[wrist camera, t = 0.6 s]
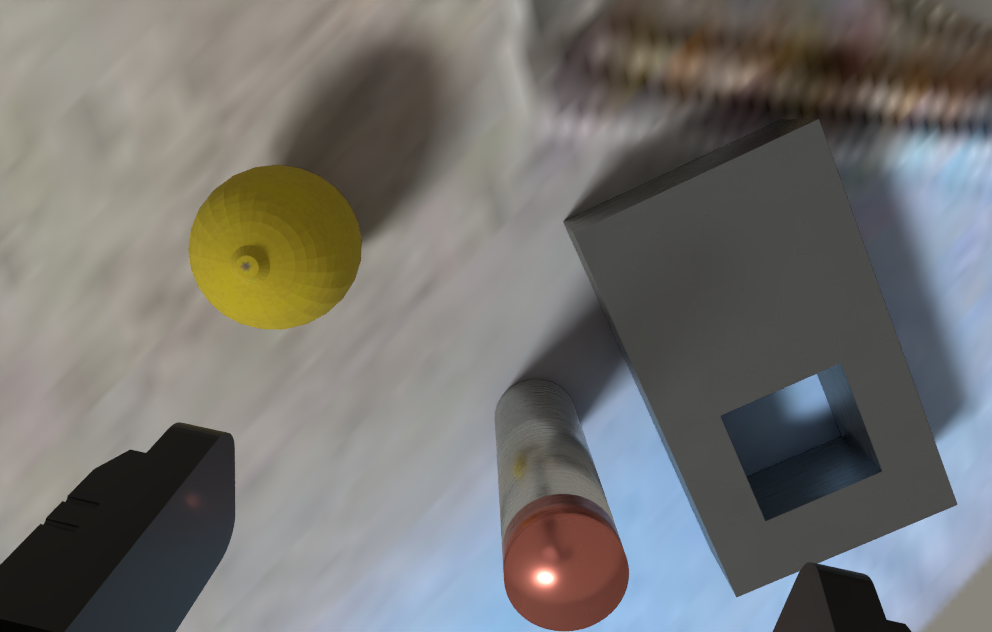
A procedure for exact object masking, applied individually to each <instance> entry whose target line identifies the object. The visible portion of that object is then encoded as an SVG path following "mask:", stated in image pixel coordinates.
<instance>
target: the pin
mask: <svg viewBox="0 0 992 632" xmlns="http://www.w3.org/2000/svg"><path fill="white" fill-rule="evenodd" d="M495 433H496V450H497V467H498V484H499V502H500V519H501V536H502V553H503V570H504V583H505V589H506V593H507V595H508V598H509V600H510V602H511V603H512V605H513V607H514V608H515V609H516V610H517V611H518V613H519V614H521V615H522V616H523V617H524V618H525V619H527V620H528V621H530V622H531V623H533V624H535V625H537V626H539V627H542V628H545V629H549V630H554V631H574V630H579V629H584V628H587V627H589V626H592V625H594V624H596V623H598V622H600V621H601V620H603V619H604V618H606V617H607V616H608V615H609V614H611V613H612V612H613V610H614V609H615V608H616V607H617V606H618V604H619V603H620V602H621V600H622V598H623V596H624V594H625V591H626V589H627V585H628V579H629V568H628V562H627V558H626V555H625V552H624V549H623V546H622V543H621V541H620V538H619V535H618V532H617V529H616V526H615V523H614V520H613V517H612V514H611V511H610V509H609V506H608V503H607V500H606V497H605V494H604V491H603V488H602V485H601V482H600V479H599V477H598V474H597V471H596V468H595V465H594V462H593V459H592V456H591V453H590V450H589V447H588V445H587V442H586V439H585V436H584V433H583V430H582V427H581V424H580V421H579V418H578V415H577V413H576V410H575V407H574V404H573V402H572V400H571V398H570V396H569V395H568V394H567V392H566V391H565V390H564V389H562V388H561V387H560V386H558V385H557V384H555V383H553V382H550V381H547V380H541V379H531V380H525V381H522V382H519V383H517V384H515V385H513V386H512V387H511V388H509V389H508V390H507V391H506V392H505V393H504V394H503V396H502V397H501V398H500V400H499V402H498V404H497V407H496V411H495Z"/></svg>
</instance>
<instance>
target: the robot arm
mask: <svg viewBox="0 0 992 632" xmlns="http://www.w3.org/2000/svg"><path fill="white" fill-rule="evenodd" d="M234 522H235V446H234V439H233V437H232V435H231V434H230V433H226V432H222V431H217V430H213V429H208V428H204V427H199V426H194V425H190V424H185V423H179V422H178V423H175V424H174V425H172V426H171V427H170V428H169V429H168V430H167V431H166V432H165V433H164V434H163V435H162V436H161V438H160V439H159V440H158V441H157V442H156V443H155V444H154V445H153V446H152V447H151V449H150V450H149V451H148V452H147V453H143V452H139V451H134V450H129V451H127V452H125V453H123V454H121V455H119V456H118V457H116V458H114V459H112V460H110V461H108V462H107V463H105V464H103V465H101V466H99V467H97V468H95V469H94V470H93V471H92V472H91V473H90V474H89V475H88V476H87V477H86V478H85V479H84V480H83V481H82V482H81V483H80V484H79V485H78V486H77V487H76V488H75V489H74V490H73V491H72V492H71V493H70V494H69V495H68V498H67V500H66V502H63V501H62V502H61V503H60V504H59V505H58V506H57V507H56V508H55V509H54V511H53V512H52V513H51V514H50V515H49V516H48V517H47V518H46V521H45V523H44V524H43V525H42V524H40V525H39V526H38V527H37V528H36V529H35V530H34V531H33V532H32V533H31V534H30V535H29V536H28V537H27V538H26V539H25V540H24V541H23V542H22V543H21V544H20V545H19V546H18V547H17V548H16V549H15V550H14V551H13V552H12V553H11V554H10V556H9V557H8V558H7V559H6V560H5V561H4V562H3V563H2V564H1V565H0V632H176V630H177V629H178V627H179V625H180V624H181V622H182V621H183V619H184V618H185V616H186V615H187V613H188V611H189V610H190V608H191V607H192V605H193V604H194V602H195V601H196V599H197V597H198V596H199V594H200V593H201V591H202V590H203V588H204V586H205V585H206V583H207V582H208V580H209V579H210V577H211V576H212V574H213V572H214V571H215V569H216V568H217V566H218V565H219V563H220V561H221V560H222V558H223V556H224V554H225V552H226V550H227V547H228V545H229V542H230V539H231V536H232V532H233V528H234ZM773 632H911V630H910V629H909V628H908V627H907V626H906V624H903V623H898V622H894V621H889V620H886V617H885V614H884V612H883V609H882V606H881V603H880V601H879V598H878V595H877V592H876V589H875V587H874V584H873V582H872V580H871V579H870V577H868V576H867V575H865V574H862V573H857V572H853V571H848V570H844V569H839V568H835V567H830V566H825V565H821V564H816V563H812V562H808V563H806V564H805V565H804V566H803V567H802V568H801V570H800V572H799V574H798V576H797V578H796V581H795V583H794V585H793V587H792V590H791V592H790V594H789V596H788V599H787V601H786V603H785V605H784V608H783V610H782V612H781V614H780V617H779V619H778V621H777V623H776V626H775V628H774V630H773Z"/></svg>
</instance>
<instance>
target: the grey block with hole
mask: <svg viewBox="0 0 992 632" xmlns="http://www.w3.org/2000/svg"><path fill="white" fill-rule="evenodd" d="M564 224H565V227H566V229H567V231H568V233H569V236H570V238H571V240H572V242H573V245H574V247H575V249H576V251H577V253H578V256H579V258H580V260H581V262H582V265H583V267H584V269H585V271H586V273H587V276H588V278H589V280H590V282H591V285H592V287H593V289H594V291H595V293H596V296H597V298H598V300H599V302H600V305H601V307H602V309H603V311H604V314H605V316H606V318H607V320H608V322H609V325H610V327H611V329H612V331H613V334H614V336H615V338H616V340H617V342H618V345H619V347H620V349H621V351H622V354H623V356H624V358H625V360H626V362H627V365H628V367H629V369H630V371H631V374H632V376H633V378H634V380H635V383H636V385H637V387H638V389H639V391H640V394H641V396H642V398H643V400H644V403H645V405H646V407H647V409H648V411H649V414H650V416H651V418H652V420H653V423H654V425H655V427H656V429H657V432H658V434H659V436H660V438H661V440H662V443H663V445H664V447H665V449H666V452H667V454H668V456H669V458H670V460H671V463H672V465H673V467H674V469H675V472H676V474H677V476H678V478H679V480H680V483H681V485H682V487H683V489H684V492H685V494H686V496H687V498H688V501H689V503H690V505H691V507H692V509H693V512H694V514H695V516H696V518H697V521H698V523H699V525H700V527H701V529H702V532H703V534H704V536H705V538H706V541H707V543H708V545H709V547H710V549H711V552H712V553H713V555H714V557H715V559H716V561H717V563H718V564H719V566H720V568H721V570H722V572H723V574H724V575H725V577H726V579H727V581H728V583H729V584H730V586H731V588H732V590H733V592H734V594H735V595H736V597H739V596H741V595H743V594H746V593H748V592H750V591H753V590H755V589H758V588H760V587H762V586H765V585H767V584H770V583H772V582H774V581H777V580H779V579H781V578H784V577H786V576H789V575H791V574H793V573H796V572H798V571H800V570H801V568H802V567H803V566H804V565H805V564H806V563H808V562H812V563H816V564H817V563H820V562H822V561H824V560H827V559H829V558H832V557H834V556H836V555H839V554H841V553H843V552H846V551H848V550H851V549H853V548H855V547H858V546H860V545H863V544H865V543H867V542H870V541H872V540H874V539H877V538H879V537H882V536H884V535H886V534H889V533H891V532H894V531H896V530H898V529H901V528H903V527H905V526H908V525H910V524H913V523H915V522H917V521H920V520H922V519H925V518H927V517H929V516H932V515H934V514H936V513H939V512H941V511H944V510H946V509H948V508H951V507H953V506H956V505H957V502H956V499H955V496H954V494H953V491H952V488H951V485H950V483H949V480H948V477H947V474H946V471H945V469H944V466H943V463H942V460H941V457H940V455H939V452H938V449H937V446H936V444H935V441H934V438H933V435H932V432H931V430H930V427H929V424H928V421H927V418H926V416H925V413H924V410H923V407H922V405H921V402H920V399H919V396H918V393H917V391H916V388H915V385H914V382H913V379H912V377H911V374H910V371H909V368H908V366H907V363H906V360H905V357H904V354H903V352H902V349H901V346H900V343H899V341H898V338H897V335H896V332H895V329H894V327H893V324H892V321H891V318H890V315H889V313H888V310H887V307H886V304H885V302H884V299H883V296H882V293H881V290H880V288H879V285H878V282H877V279H876V276H875V274H874V271H873V268H872V265H871V263H870V260H869V257H868V254H867V251H866V249H865V246H864V243H863V240H862V237H861V235H860V232H859V229H858V226H857V224H856V221H855V218H854V215H853V212H852V210H851V207H850V204H849V201H848V198H847V196H846V193H845V190H844V187H843V185H842V182H841V179H840V176H839V173H838V171H837V168H836V165H835V162H834V160H833V157H832V154H831V151H830V148H829V146H828V143H827V140H826V137H825V134H824V132H823V129H822V126H821V123H820V121H819V119H792V120H779V121H777V122H775V123H773V124H771V125H769V126H766V127H764V128H762V129H760V130H758V131H756V132H754V133H752V134H749V135H747V136H745V137H743V138H741V139H739V140H737V141H734V142H732V143H730V144H728V145H726V146H724V147H722V148H720V149H717V150H715V151H713V152H711V153H709V154H707V155H705V156H702V157H700V158H698V159H696V160H694V161H692V162H690V163H688V164H685V165H683V166H681V167H679V168H677V169H675V170H673V171H670V172H668V173H666V174H664V175H662V176H660V177H658V178H656V179H653V180H651V181H649V182H647V183H645V184H643V185H641V186H638V187H636V188H634V189H632V190H630V191H628V192H626V193H624V194H621V195H619V196H617V197H615V198H613V199H611V200H609V201H606V202H604V203H602V204H600V205H598V206H596V207H594V208H592V209H589V210H587V211H585V212H583V213H581V214H579V215H577V216H574V217H572V218H570V219H568V220H566V221H564ZM815 374H818V377H819V380H820V382H821V385H822V387H823V390H824V392H825V395H826V398H827V400H828V403H829V405H830V408H831V410H832V413H833V416H834V418H835V421H836V423H837V426H838V428H839V431H840V434H841V436H842V437H839V438H837V439H835V440H832V441H830V442H828V443H826V444H823V445H821V446H819V447H816V448H814V449H812V450H809V451H807V452H805V453H802V454H800V455H798V456H795V457H793V458H791V459H788V460H786V461H784V462H782V463H779V464H777V465H775V466H772V467H770V468H768V469H765V470H763V471H761V472H758V473H756V474H754V475H751V476H749V477H746V475H745V473H744V470H743V468H742V466H741V463H740V461H739V458H738V456H737V454H736V451H735V449H734V447H733V444H732V442H731V440H730V437H729V435H728V433H727V430H726V428H725V426H724V423H723V421H722V419H721V415H724V414H726V413H728V412H730V411H733V410H735V409H737V408H740V407H742V406H744V405H746V404H749V403H751V402H753V401H755V400H758V399H760V398H762V397H765V396H767V395H769V394H771V393H774V392H776V391H778V390H780V389H783V388H785V387H787V386H790V385H792V384H794V383H796V382H799V381H801V380H803V379H805V378H808V377H810V376H812V375H815Z"/></svg>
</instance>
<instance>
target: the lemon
mask: <svg viewBox="0 0 992 632" xmlns="http://www.w3.org/2000/svg"><path fill="white" fill-rule="evenodd" d="M361 246H362V239H361V234H360V230H359V225H358V221H357V219H356V217H355V215H354V213H353V211H352V209H351V207H350V204H349V203H348V202H347V200H346V199H345V198H344V197H343V196H342V194H341V193H340V192H339V191H338V190H337V189H336V188H335V187H334V186H333V185H331V184H330V183H328V182H327V181H326V180H324V179H323V178H322V177H320V176H318V175H316V174H313V173H311V172H309V171H306V170H304V169H301V168H296V167H289V166H283V165H272V166H263V167H255V168H252V169H250V170H247V171H245V172H242V173H239V174H237V175H234V176H232V177H231V178H230V179H228V180H227V181H226V182H224V183H223V184H222V185H220V186H219V187H218V188H216V189H215V190H214V191H213V192H212V193H211V194H210V196H209V197H208V198H207V200H206V201H205V202H204V203H203V205H202V206H201V207H200V209H199V211H198V213H197V216H196V218H195V221H194V223H193V226H192V228H191V234H190V242H189V257H190V265H191V270H192V272H193V275H194V277H195V280H196V282H197V285H198V287H199V288H200V290H201V291H202V292H203V294H204V295H205V297H206V298H207V299H208V301H209V302H210V303H211V304H212V305H213V306H214V307H216V308H217V309H218V310H219V311H220V312H221V313H222V314H224V315H225V316H227V317H229V318H231V319H233V320H235V321H237V322H239V323H240V324H244V325H248V326H252V327H256V328H259V329H287V328H292V327H296V326H300V325H304V324H307V323H309V322H311V321H313V320H315V319H317V318H319V317H321V316H322V315H324V314H326V313H327V312H329V311H330V310H331V309H332V308H333V307H334V306H335V305H336V304H337V303H338V302H340V301H341V300H342V299H343V298H344V296H345V294H346V293H347V291H348V290H349V288H350V287H351V285H352V283H353V282H354V280H355V277H356V274H357V271H358V268H359V264H360V261H361Z"/></svg>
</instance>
